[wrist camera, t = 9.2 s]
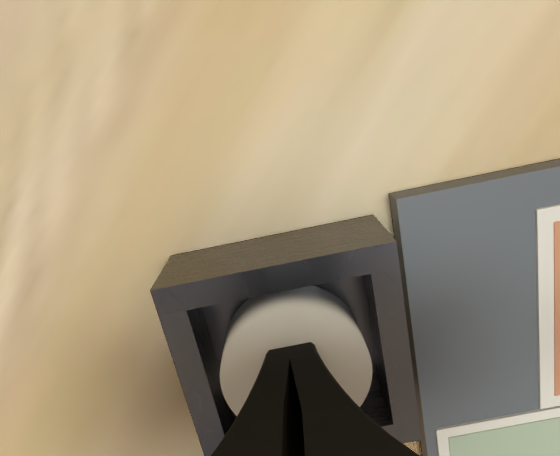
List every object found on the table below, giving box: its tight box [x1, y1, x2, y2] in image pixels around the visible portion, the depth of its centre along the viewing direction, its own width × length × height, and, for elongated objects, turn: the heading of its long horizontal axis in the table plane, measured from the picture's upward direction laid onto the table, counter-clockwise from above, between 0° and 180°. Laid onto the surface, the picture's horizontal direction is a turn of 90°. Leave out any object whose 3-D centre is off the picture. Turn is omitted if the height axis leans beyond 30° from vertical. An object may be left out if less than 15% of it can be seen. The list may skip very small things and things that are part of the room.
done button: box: [220, 286, 372, 416], centre depth 13 cm, size 4×4×2 cm
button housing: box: [150, 215, 421, 456], centre depth 14 cm, size 7×7×3 cm
